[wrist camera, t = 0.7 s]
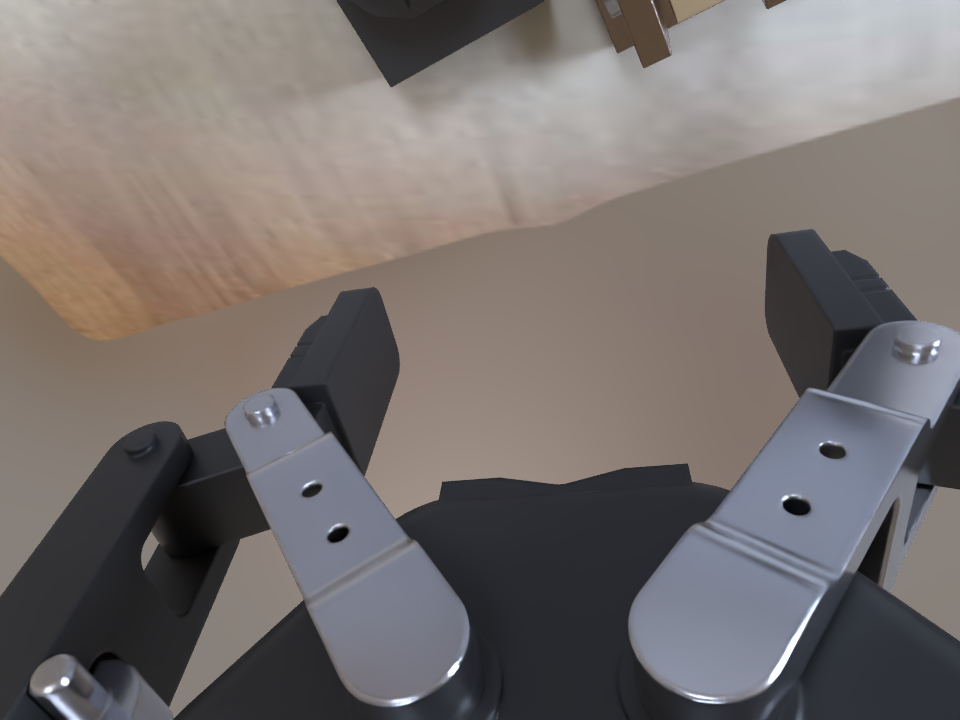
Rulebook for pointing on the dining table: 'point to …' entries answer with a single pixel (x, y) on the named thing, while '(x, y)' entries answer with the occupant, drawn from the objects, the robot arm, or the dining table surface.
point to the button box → (424, 29)
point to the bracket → (644, 26)
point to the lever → (690, 7)
